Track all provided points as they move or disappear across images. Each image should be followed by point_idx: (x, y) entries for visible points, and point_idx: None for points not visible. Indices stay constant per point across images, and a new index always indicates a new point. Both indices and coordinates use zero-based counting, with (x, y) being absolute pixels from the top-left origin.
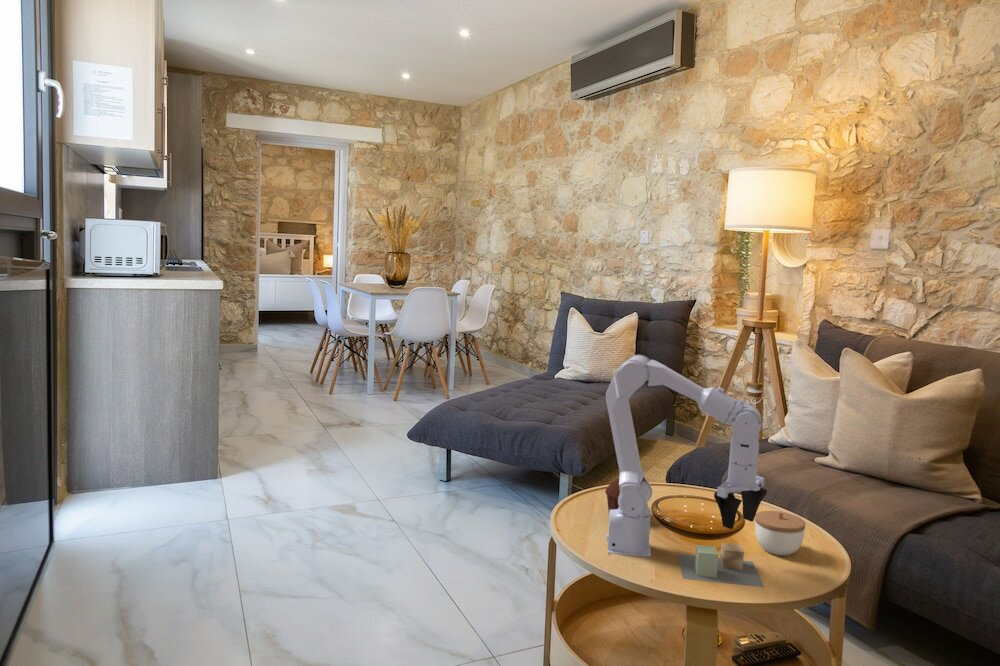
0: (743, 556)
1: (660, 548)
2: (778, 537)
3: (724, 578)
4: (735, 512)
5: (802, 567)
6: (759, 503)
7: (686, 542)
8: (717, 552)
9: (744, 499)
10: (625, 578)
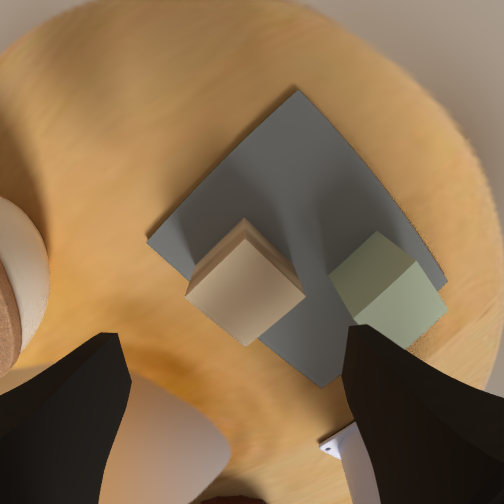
0: (245, 232)
1: (315, 424)
2: (9, 236)
3: (361, 211)
4: (434, 387)
5: (33, 134)
6: (11, 396)
7: (219, 421)
8: (401, 275)
9: (90, 484)
10: (499, 341)
